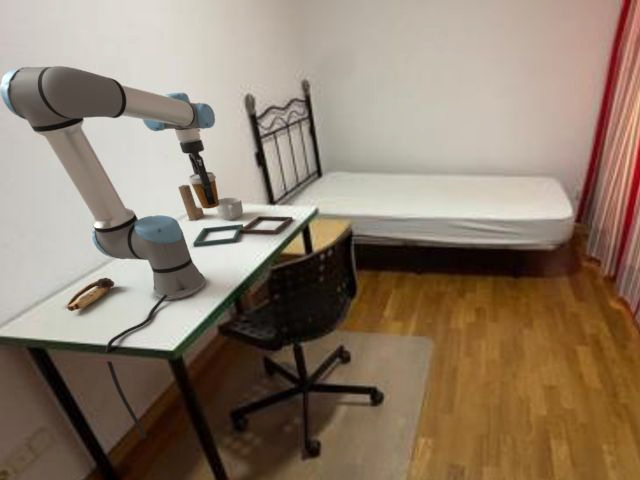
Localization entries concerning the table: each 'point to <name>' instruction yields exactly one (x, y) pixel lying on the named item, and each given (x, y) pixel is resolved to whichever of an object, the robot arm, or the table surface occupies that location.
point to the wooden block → (190, 203)
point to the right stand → (267, 218)
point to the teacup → (230, 208)
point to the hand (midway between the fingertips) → (209, 201)
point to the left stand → (220, 241)
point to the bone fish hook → (90, 294)
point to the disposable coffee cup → (199, 191)
